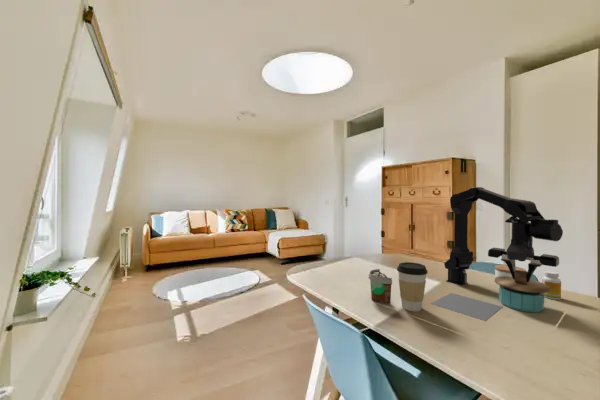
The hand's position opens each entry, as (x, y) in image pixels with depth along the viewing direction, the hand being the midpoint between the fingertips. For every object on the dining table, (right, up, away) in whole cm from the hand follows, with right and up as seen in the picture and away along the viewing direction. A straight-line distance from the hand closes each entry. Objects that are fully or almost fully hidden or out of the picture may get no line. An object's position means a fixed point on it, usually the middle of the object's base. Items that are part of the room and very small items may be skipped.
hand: (520, 280), depth 95 cm
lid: (0, -2, 0) cm, 2 cm away
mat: (-19, -9, 0) cm, 21 cm away
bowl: (0, -9, 0) cm, 9 cm away
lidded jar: (+13, -9, +22) cm, 27 cm away
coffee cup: (-39, -9, -2) cm, 41 cm away
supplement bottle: (+19, -9, +9) cm, 23 cm away
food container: (-49, -9, +6) cm, 50 cm away
